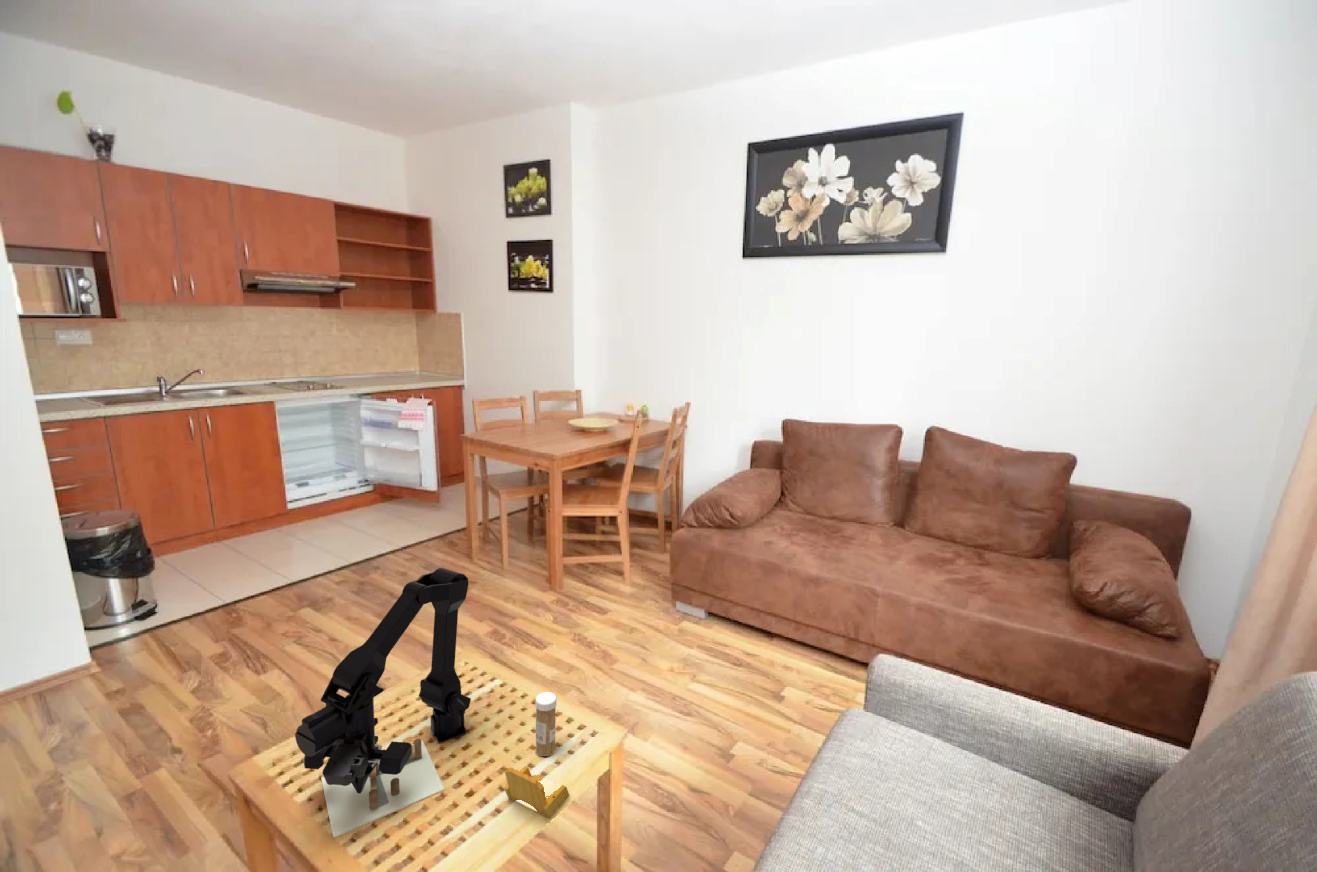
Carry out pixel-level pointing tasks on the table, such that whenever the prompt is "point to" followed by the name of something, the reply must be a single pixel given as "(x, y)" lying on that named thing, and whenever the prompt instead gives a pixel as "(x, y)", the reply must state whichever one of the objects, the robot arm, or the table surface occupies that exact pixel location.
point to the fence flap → (373, 792)
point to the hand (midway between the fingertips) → (360, 791)
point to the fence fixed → (415, 754)
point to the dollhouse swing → (533, 791)
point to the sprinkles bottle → (545, 723)
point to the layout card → (381, 795)
